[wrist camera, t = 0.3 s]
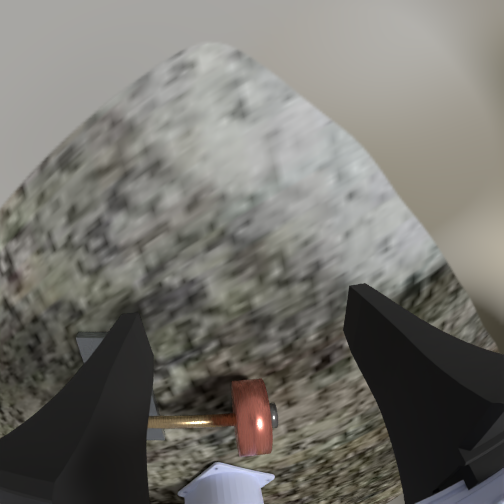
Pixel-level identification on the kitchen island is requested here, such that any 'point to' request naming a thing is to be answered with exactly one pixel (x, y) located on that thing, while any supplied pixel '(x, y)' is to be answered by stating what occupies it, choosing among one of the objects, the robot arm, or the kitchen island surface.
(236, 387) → the copper knob on rod
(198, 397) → the kitchen island surface
